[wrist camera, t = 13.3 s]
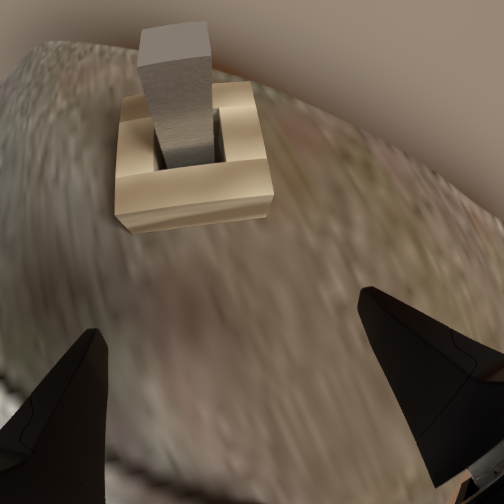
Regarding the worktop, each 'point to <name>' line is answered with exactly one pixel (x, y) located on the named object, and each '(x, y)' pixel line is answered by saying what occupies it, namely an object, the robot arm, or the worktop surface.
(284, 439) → the worktop surface
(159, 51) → the square bit
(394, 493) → the worktop surface
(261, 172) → the socket block
